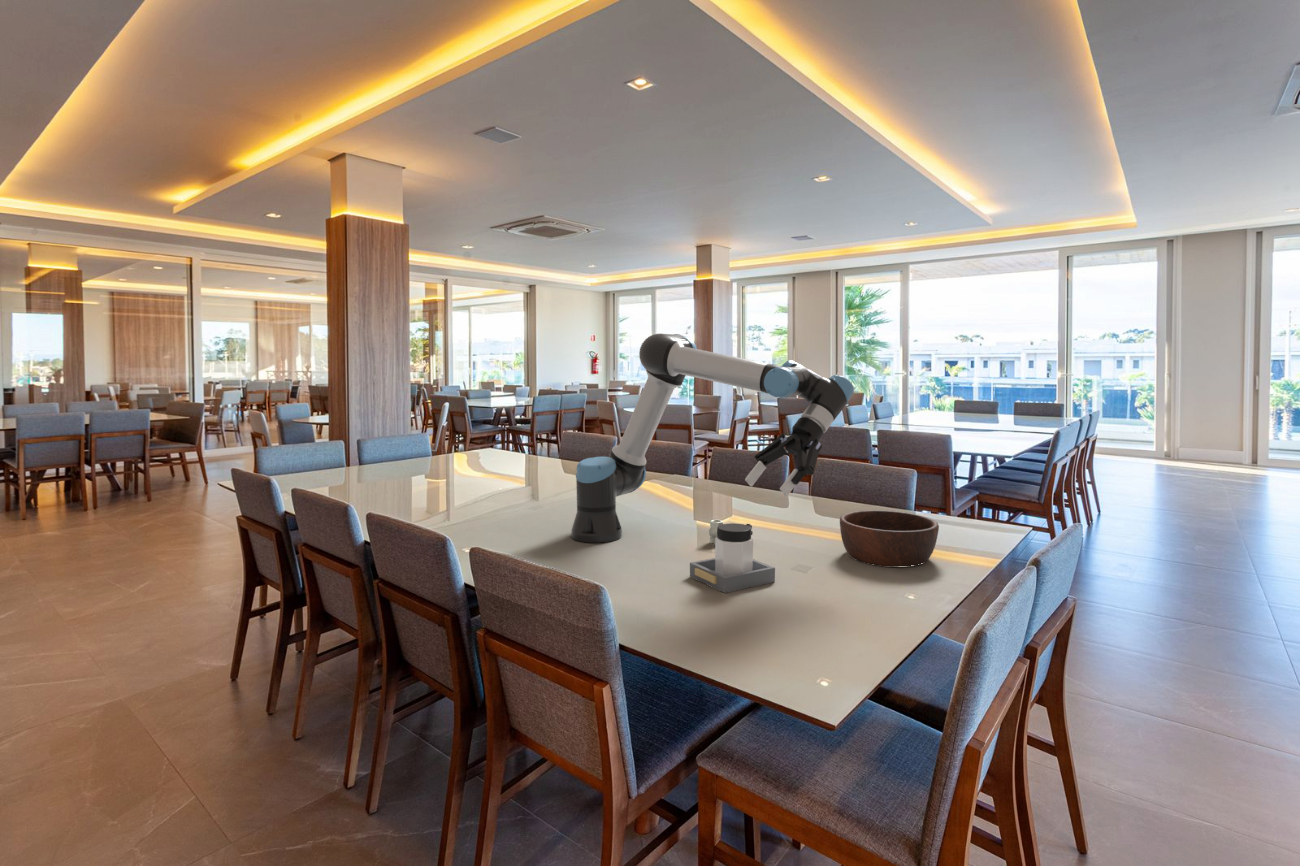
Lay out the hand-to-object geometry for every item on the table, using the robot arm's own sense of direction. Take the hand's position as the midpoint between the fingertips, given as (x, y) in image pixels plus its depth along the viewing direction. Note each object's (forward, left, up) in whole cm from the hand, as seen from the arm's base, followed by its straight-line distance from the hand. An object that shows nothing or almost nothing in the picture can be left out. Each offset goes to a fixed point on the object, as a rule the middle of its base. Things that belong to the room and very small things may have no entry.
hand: (765, 487), depth 171 cm
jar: (+3, -12, -20) cm, 24 cm away
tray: (+2, -12, -21) cm, 24 cm away
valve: (-23, +7, -21) cm, 32 cm away
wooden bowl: (+9, +35, -21) cm, 42 cm away
